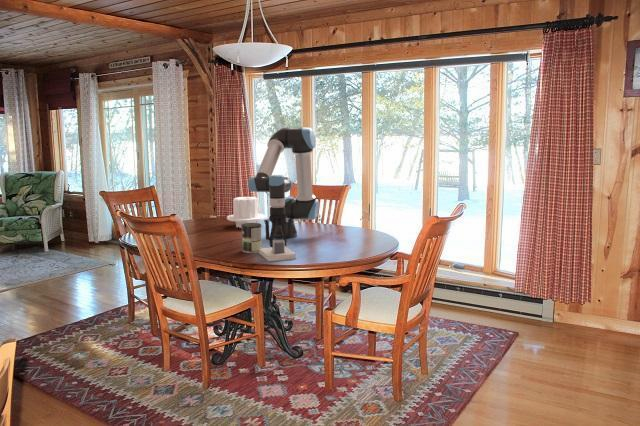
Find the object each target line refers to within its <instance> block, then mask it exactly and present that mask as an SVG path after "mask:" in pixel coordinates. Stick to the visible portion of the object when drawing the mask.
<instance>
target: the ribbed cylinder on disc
mask: <svg viewBox="0 0 640 426" xmlns="http://www.w3.org/2000/svg"><path fill="white" fill-rule="evenodd" d="M259 206H260V205H259V198H258V197H255V196H237V197H234V198H232V209H233V210H232V211H233V214H229V215H227V216H226V220H228V221H229V222H235V227H236V228H238V227H239V229H242V224H245V223H258V222H259V221H264V220H266V215H265V214H262V213H260V211H259V210H260V207H259Z"/></svg>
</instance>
